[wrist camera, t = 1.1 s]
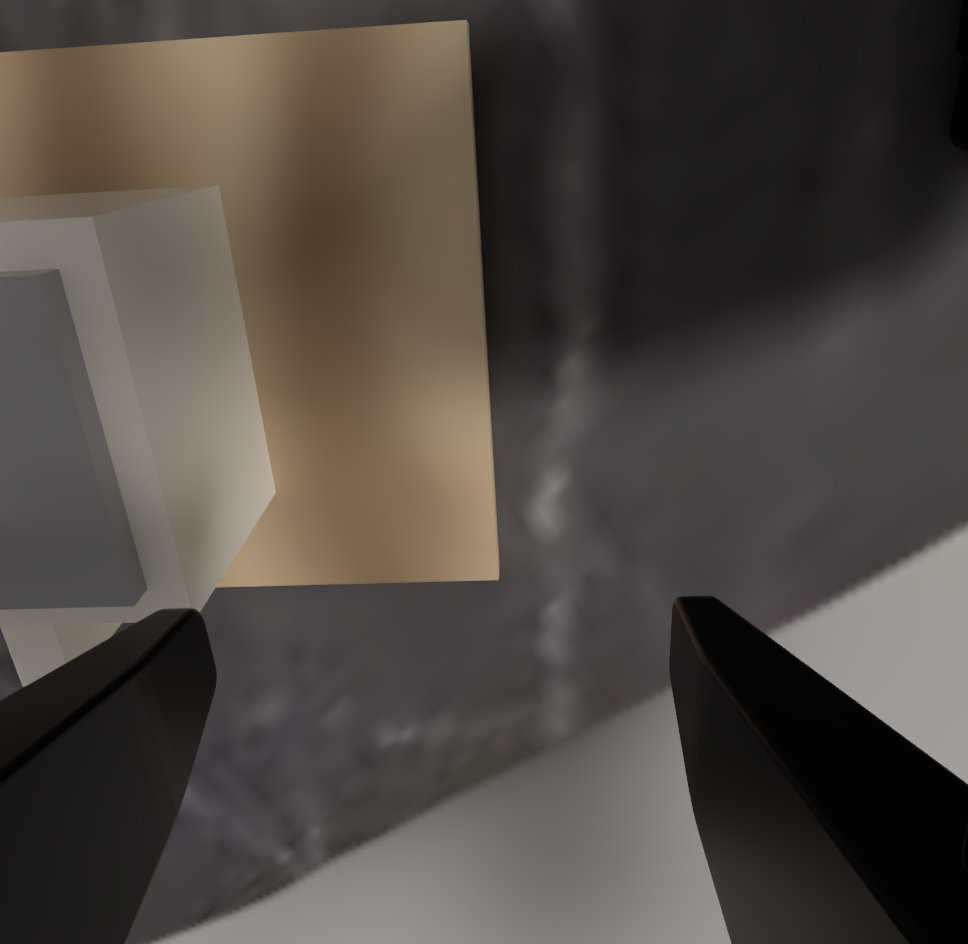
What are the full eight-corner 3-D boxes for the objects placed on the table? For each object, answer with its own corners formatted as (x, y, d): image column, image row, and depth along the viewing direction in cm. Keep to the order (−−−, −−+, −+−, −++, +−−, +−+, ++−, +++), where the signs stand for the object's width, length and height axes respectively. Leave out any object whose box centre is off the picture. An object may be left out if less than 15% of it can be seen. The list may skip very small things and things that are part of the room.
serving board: (468, 23, 18) (466, 19, 17) (499, 565, 23) (499, 579, 23) (-371, 81, 19) (-407, 80, 18) (-143, 582, 25) (-163, 597, 24)
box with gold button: (218, 185, 18) (73, 221, 12) (287, 555, 23) (203, 717, 17) (-108, 204, 19) (-400, 248, 13) (18, 563, 23) (-159, 722, 17)
